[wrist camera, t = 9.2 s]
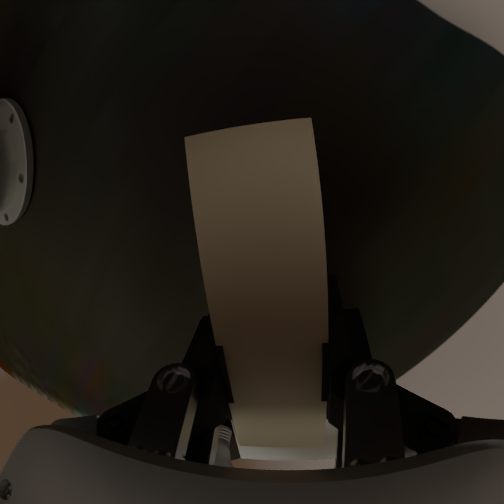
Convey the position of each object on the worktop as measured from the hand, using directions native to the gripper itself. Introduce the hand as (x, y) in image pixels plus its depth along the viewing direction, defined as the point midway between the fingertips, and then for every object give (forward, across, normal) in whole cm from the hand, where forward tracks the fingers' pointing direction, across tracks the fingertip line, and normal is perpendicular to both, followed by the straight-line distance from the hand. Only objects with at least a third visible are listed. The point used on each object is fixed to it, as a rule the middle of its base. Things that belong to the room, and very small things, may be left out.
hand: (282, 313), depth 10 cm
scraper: (0, 0, +2) cm, 2 cm away
